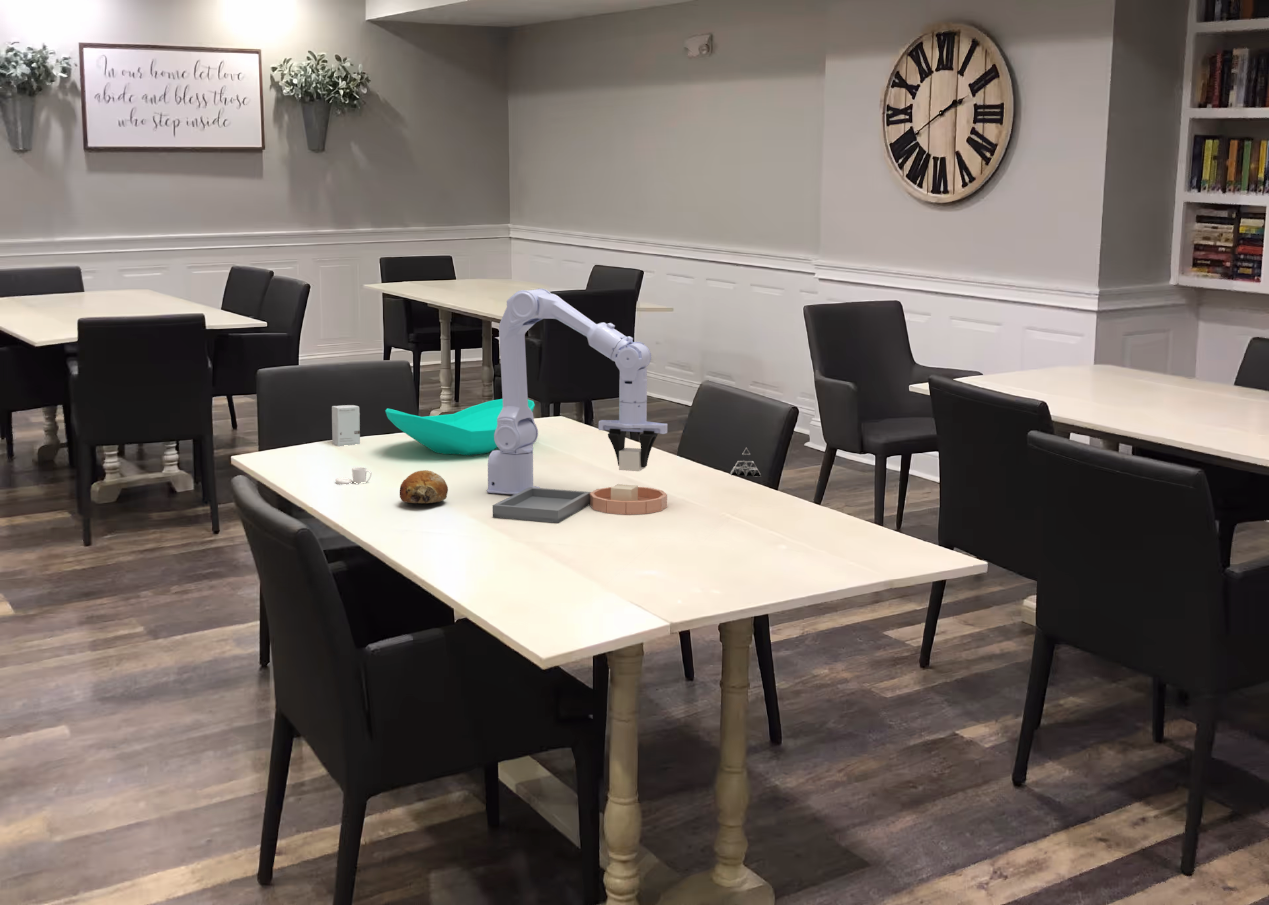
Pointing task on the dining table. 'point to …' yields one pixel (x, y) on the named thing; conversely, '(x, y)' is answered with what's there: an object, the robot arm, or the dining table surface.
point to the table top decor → (454, 428)
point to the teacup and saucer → (355, 476)
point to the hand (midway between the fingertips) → (632, 465)
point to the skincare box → (345, 425)
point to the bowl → (629, 502)
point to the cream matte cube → (624, 492)
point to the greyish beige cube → (630, 459)
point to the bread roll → (423, 488)
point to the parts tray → (542, 505)
